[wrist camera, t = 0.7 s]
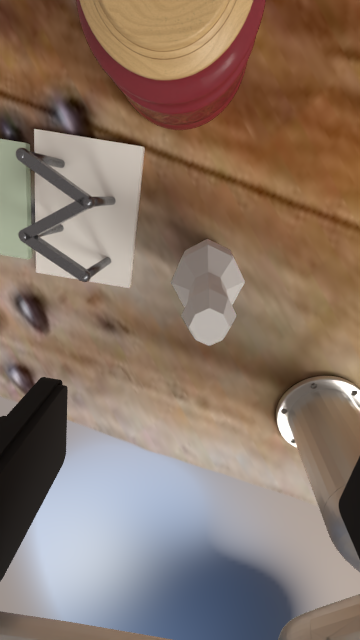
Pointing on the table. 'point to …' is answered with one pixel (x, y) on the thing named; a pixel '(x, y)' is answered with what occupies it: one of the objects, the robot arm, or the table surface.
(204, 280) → the faceted bottle
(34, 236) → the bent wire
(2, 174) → the pale green flat panel
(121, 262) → the wire board
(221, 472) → the table surface
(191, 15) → the canister
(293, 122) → the table surface
